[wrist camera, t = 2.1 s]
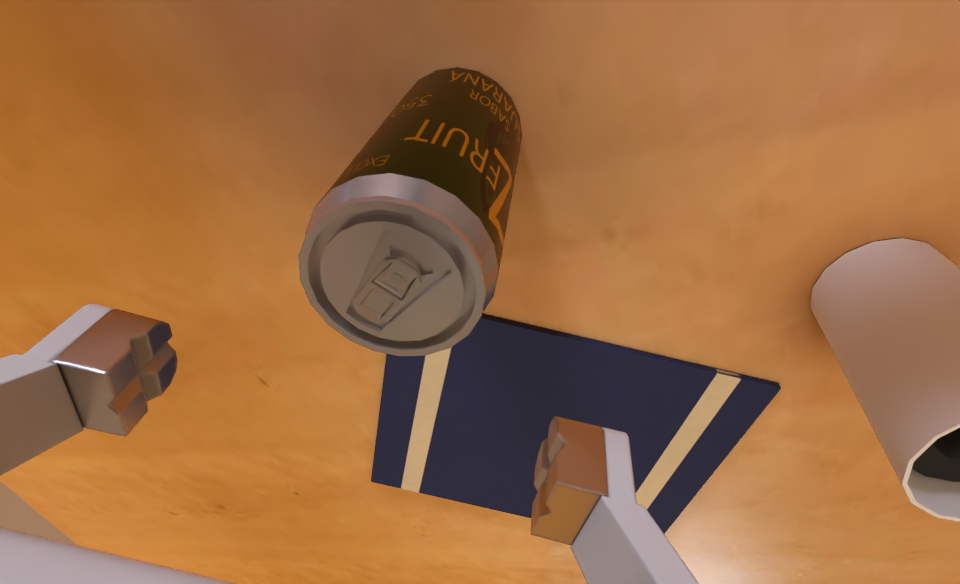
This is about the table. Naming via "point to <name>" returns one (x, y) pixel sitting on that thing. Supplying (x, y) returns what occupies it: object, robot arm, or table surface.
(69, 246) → the table surface
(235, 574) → the table surface
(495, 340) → the cloth
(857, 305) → the white coffee cup
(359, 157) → the green drink can
